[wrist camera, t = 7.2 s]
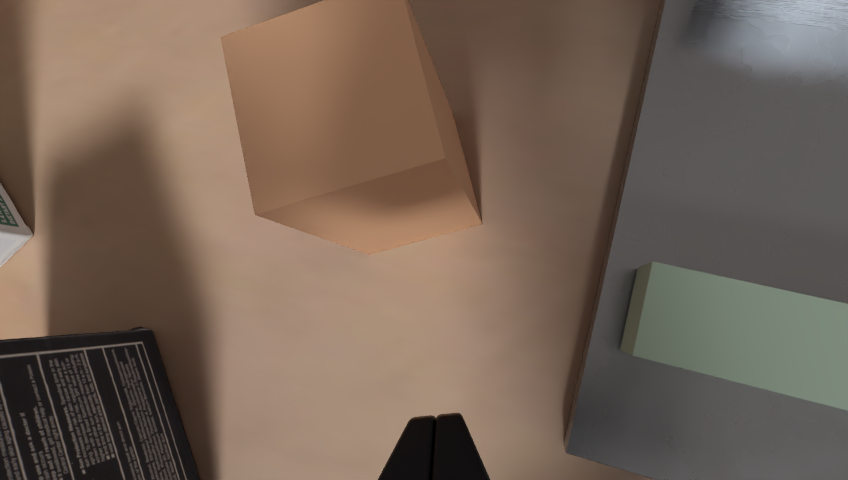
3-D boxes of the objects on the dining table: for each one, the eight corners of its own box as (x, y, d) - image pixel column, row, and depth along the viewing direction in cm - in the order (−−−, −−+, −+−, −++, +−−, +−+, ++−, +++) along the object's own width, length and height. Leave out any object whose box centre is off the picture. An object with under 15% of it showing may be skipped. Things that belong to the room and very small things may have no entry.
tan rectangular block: (482, 223, 23) (445, 157, 13) (369, 254, 23) (254, 214, 14) (452, 113, 24) (397, -27, 14) (344, 146, 24) (220, 37, 15)
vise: (922, 549, 18) (1037, 619, 14) (563, 442, 21) (571, 475, 17) (1023, -56, 20) (1152, -152, 16) (680, -85, 23) (713, -175, 19)
